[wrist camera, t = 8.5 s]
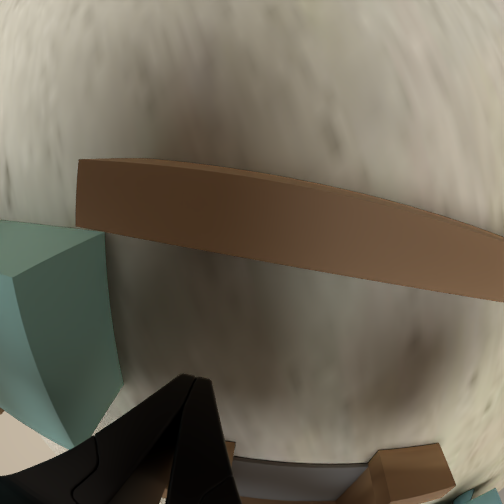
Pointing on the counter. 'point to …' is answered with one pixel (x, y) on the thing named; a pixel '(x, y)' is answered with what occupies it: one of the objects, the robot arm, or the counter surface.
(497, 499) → the teapot
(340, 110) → the counter surface
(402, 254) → the brown walled enclosure
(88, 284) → the teal block
